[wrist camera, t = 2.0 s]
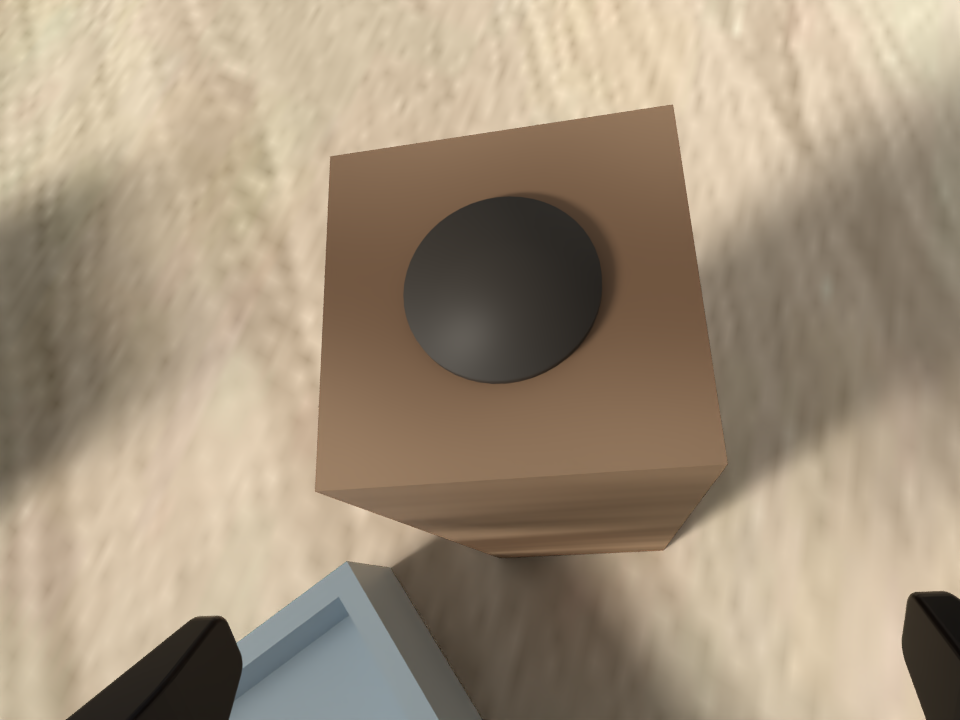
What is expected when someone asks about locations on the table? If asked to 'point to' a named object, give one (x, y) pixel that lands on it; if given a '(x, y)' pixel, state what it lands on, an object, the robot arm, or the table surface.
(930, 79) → the table surface
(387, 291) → the bored block
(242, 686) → the tray
